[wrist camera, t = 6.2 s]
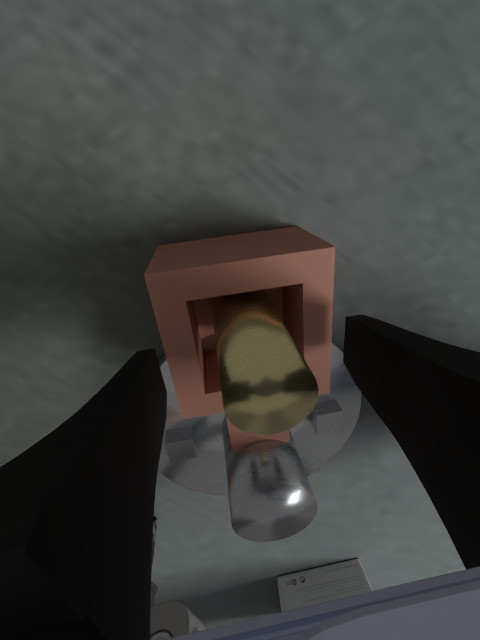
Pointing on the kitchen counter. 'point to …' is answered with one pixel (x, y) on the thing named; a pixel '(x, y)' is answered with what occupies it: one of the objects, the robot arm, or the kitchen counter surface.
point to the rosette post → (260, 457)
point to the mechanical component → (170, 613)
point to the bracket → (230, 278)
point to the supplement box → (322, 584)
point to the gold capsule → (260, 366)
